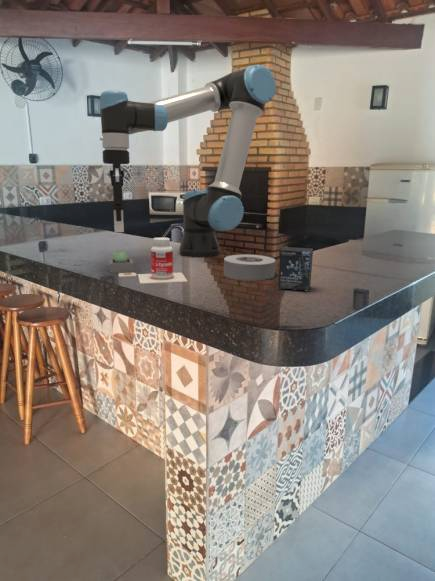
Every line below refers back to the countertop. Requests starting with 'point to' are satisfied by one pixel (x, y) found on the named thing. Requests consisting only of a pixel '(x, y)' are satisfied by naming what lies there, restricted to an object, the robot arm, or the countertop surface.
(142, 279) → the sheet
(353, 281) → the countertop surface
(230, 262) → the tape roll
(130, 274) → the card
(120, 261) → the button cap
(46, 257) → the countertop surface
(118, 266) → the button base
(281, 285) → the box
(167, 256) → the pill bottle
